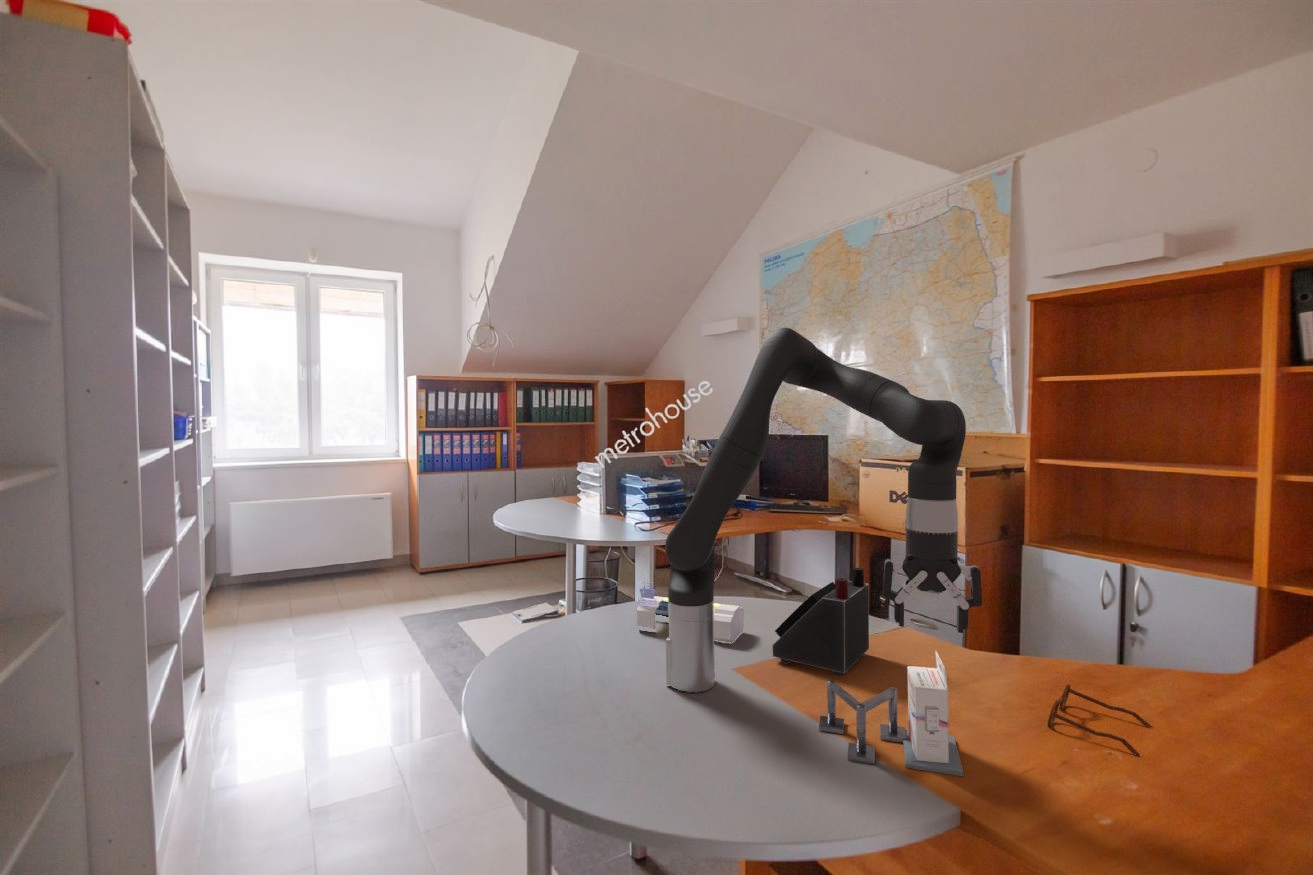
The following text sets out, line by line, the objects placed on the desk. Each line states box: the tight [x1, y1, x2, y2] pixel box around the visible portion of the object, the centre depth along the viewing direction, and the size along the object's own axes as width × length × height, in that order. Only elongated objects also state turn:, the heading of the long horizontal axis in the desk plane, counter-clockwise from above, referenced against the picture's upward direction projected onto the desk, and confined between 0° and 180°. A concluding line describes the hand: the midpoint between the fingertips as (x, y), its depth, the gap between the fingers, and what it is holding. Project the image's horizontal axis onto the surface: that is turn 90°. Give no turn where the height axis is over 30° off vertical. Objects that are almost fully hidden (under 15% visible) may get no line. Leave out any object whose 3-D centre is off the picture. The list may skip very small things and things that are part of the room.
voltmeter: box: [772, 567, 870, 677], centre depth 138 cm, size 16×16×20 cm
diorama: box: [636, 581, 745, 643], centre depth 157 cm, size 25×10×13 cm, turn 65°
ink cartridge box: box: [906, 650, 949, 763], centre depth 99 cm, size 9×5×15 cm, turn 167°
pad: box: [902, 729, 964, 777], centre depth 99 cm, size 8×11×1 cm
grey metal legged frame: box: [818, 679, 907, 765], centre depth 102 cm, size 14×12×8 cm
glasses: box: [1047, 684, 1153, 756], centre depth 106 cm, size 13×13×5 cm
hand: (930, 628), depth 98 cm, fingers open, 8 cm apart
